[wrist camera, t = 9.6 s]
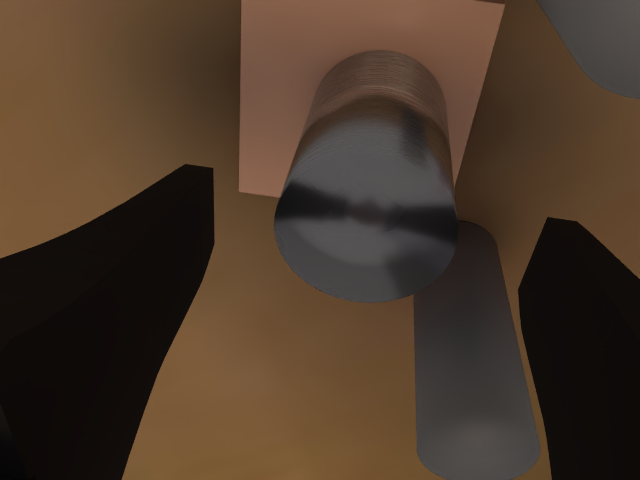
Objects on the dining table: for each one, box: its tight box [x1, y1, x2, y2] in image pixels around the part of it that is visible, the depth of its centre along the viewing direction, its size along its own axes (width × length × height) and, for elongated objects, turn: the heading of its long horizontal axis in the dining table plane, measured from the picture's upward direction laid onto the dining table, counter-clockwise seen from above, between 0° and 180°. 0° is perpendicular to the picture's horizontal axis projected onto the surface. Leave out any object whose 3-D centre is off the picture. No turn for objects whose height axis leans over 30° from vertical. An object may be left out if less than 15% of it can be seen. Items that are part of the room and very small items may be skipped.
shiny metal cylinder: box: [274, 50, 458, 303], centre depth 15 cm, size 4×4×6 cm
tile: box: [239, 0, 505, 198], centre depth 18 cm, size 7×7×1 cm
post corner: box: [414, 221, 540, 480], centre depth 18 cm, size 3×3×8 cm
